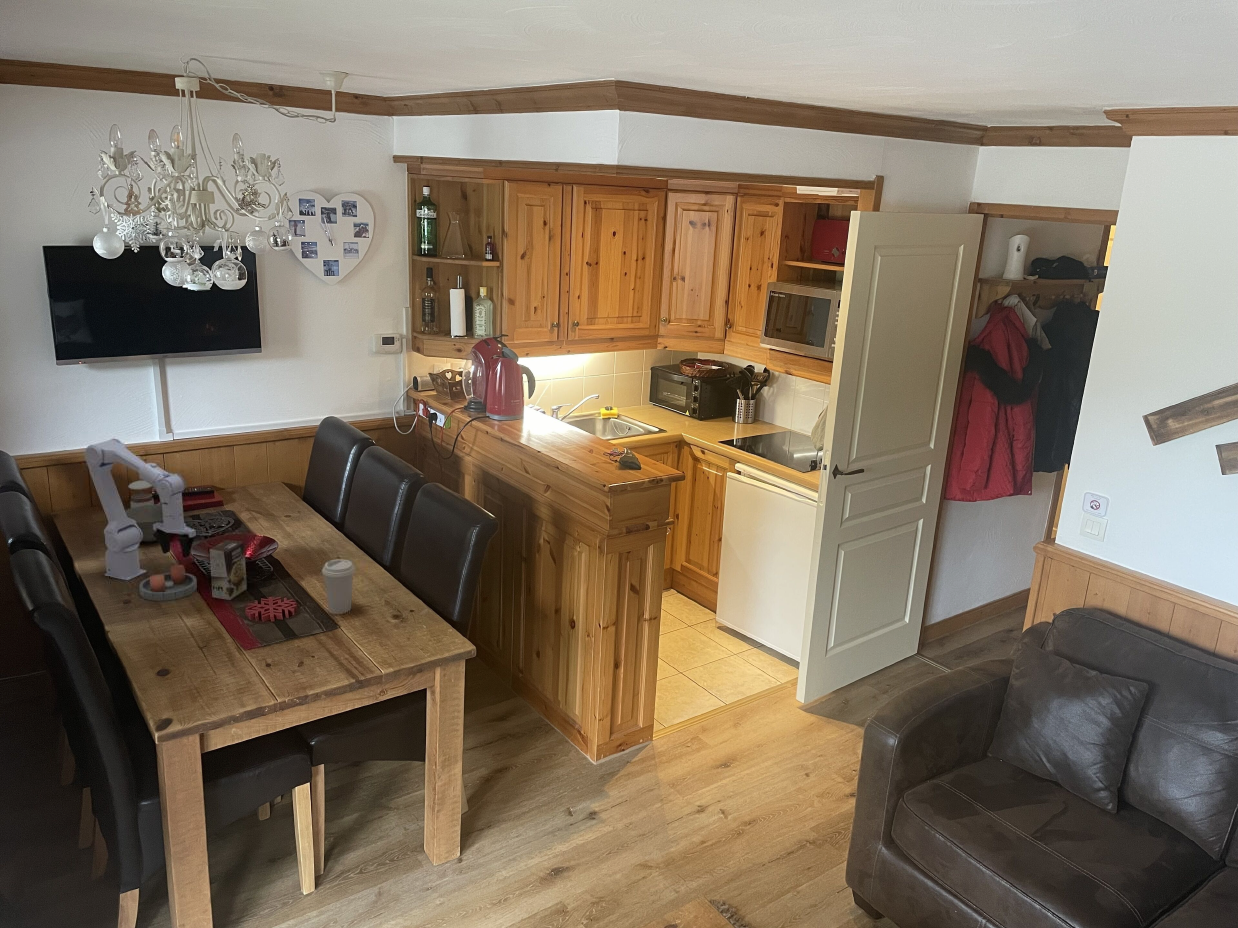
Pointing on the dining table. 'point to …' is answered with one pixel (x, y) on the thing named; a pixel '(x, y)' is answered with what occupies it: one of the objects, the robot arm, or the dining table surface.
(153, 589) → the bead
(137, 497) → the french press
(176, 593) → the round tray
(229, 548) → the coffee box
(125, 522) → the robot arm
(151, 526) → the bowl
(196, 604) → the dining table surface
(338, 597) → the coffee cup
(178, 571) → the bead
